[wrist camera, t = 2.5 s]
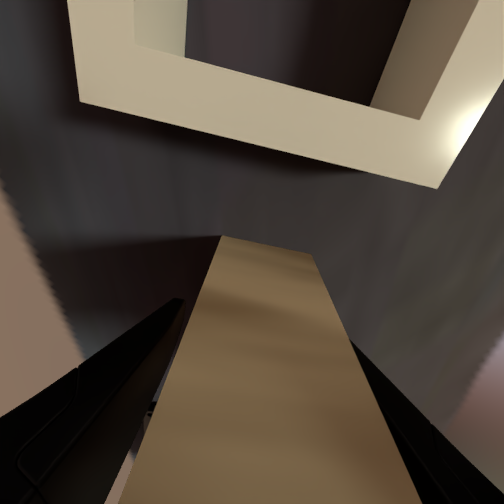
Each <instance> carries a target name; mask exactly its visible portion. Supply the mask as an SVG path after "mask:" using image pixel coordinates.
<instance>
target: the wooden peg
mask: <svg viewBox="0 0 504 504" xmlns="http://www.w3.org/2000/svg"><path fill="white" fill-rule="evenodd" d="M118 504H422V502H421V500H420V498H419V496H418V493H417V491H416V489H415V487H414V484H413V482H412V480H411V478H410V475H409V473H408V471H407V469H406V466H405V464H404V462H403V460H402V457H401V455H400V453H399V451H398V448H397V446H396V444H395V442H394V439H393V437H392V435H391V433H390V430H389V428H388V426H387V424H386V422H385V419H384V417H383V415H382V413H381V410H380V408H379V406H378V404H377V401H376V399H375V397H374V395H373V392H372V390H371V388H370V386H369V383H368V381H367V379H366V377H365V374H364V372H363V370H362V368H361V365H360V363H359V361H358V359H357V356H356V354H355V352H354V350H353V347H352V345H351V343H350V341H349V339H348V336H347V334H346V332H345V330H344V327H343V325H342V323H341V321H340V318H339V316H338V314H337V312H336V309H335V307H334V305H333V303H332V300H331V298H330V296H329V294H328V291H327V289H326V287H325V285H324V282H323V280H322V278H321V276H320V273H319V271H318V269H317V267H316V265H315V262H314V260H313V258H312V256H311V254H307V253H303V252H298V251H293V250H288V249H284V248H279V247H274V246H269V245H265V244H260V243H255V242H250V241H246V240H241V239H236V238H231V237H227V236H221V239H220V242H219V244H218V247H217V249H216V252H215V255H214V257H213V260H212V262H211V265H210V267H209V270H208V273H207V275H206V278H205V280H204V283H203V286H202V288H201V291H200V293H199V296H198V298H197V301H196V304H195V306H194V309H193V311H192V314H191V317H190V319H189V322H188V324H187V327H186V329H185V332H184V335H183V337H182V340H181V342H180V345H179V348H178V350H177V353H176V355H175V358H174V360H173V363H172V366H171V368H170V371H169V373H168V376H167V379H166V381H165V384H164V386H163V389H162V391H161V394H160V397H159V399H158V402H157V404H156V407H155V409H154V412H153V415H152V417H151V420H150V422H149V425H148V428H147V430H146V433H145V435H144V438H143V441H142V443H141V446H140V448H139V451H138V453H137V456H136V459H135V461H134V464H133V466H132V469H131V471H130V474H129V477H128V479H127V482H126V484H125V487H124V490H123V492H122V495H121V497H120V500H119V503H118Z"/></svg>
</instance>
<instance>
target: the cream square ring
mask: <svg viewBox="0 0 504 504" xmlns="http://www.w3.org/2000/svg"><path fill="white" fill-rule="evenodd" d="M67 3H68V10H69V18H70V26H71V34H72V42H73V50H74V58H75V66H76V74H77V82H78V90H79V98H80V102H84V103H88V104H92V105H96V106H100V107H104V108H108V109H112V110H116V111H121V112H125V113H129V114H133V115H137V116H141V117H145V118H149V119H153V120H157V121H161V122H166V123H170V124H174V125H178V126H182V127H186V128H190V129H194V130H198V131H202V132H206V133H211V134H215V135H219V136H223V137H227V138H231V139H235V140H239V141H243V142H247V143H251V144H256V145H260V146H264V147H268V148H272V149H276V150H280V151H284V152H288V153H292V154H296V155H301V156H305V157H309V158H313V159H317V160H321V161H325V162H329V163H333V164H337V165H341V166H346V167H350V168H354V169H358V170H362V171H366V172H370V173H374V174H378V175H382V176H386V177H391V178H395V179H399V180H403V181H407V182H411V183H415V184H419V185H423V186H427V187H431V188H436V189H437V188H438V187H439V185H440V183H441V182H442V180H443V178H444V177H445V175H446V173H447V172H448V170H449V168H450V167H451V165H452V163H453V162H454V160H455V158H456V157H457V155H458V154H459V152H460V150H461V149H462V147H463V145H464V144H465V142H466V140H467V139H468V137H469V135H470V134H471V132H472V130H473V129H474V127H475V125H476V124H477V122H478V120H479V119H480V117H481V115H482V114H483V112H484V110H485V109H486V107H487V106H488V104H489V102H490V101H491V99H492V97H493V96H494V94H495V92H496V91H497V89H498V87H499V86H500V84H501V82H502V81H503V79H504V0H411V2H410V5H409V7H408V10H407V12H406V15H405V17H404V20H403V22H402V25H401V27H400V30H399V33H398V35H397V38H396V40H395V43H394V45H393V48H392V50H391V53H390V55H389V58H388V60H387V63H386V66H385V68H384V71H383V73H382V76H381V78H380V81H379V83H378V86H377V88H376V91H375V94H374V96H373V99H372V101H371V104H370V106H369V107H368V106H364V105H360V104H356V103H353V102H349V101H345V100H341V99H338V98H334V97H330V96H326V95H323V94H319V93H315V92H311V91H308V90H304V89H300V88H296V87H293V86H289V85H285V84H281V83H278V82H274V81H270V80H267V79H263V78H259V77H255V76H252V75H248V74H244V73H240V72H237V71H233V70H229V69H225V68H222V67H218V66H214V65H210V64H207V63H203V62H199V61H195V60H192V59H188V58H184V54H185V36H186V18H187V0H67Z"/></svg>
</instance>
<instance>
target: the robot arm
mask: <svg viewBox="0 0 504 504" xmlns="http://www.w3.org/2000/svg"><path fill="white" fill-rule="evenodd" d="M185 305H186V301H185V300H184V299H178V298H173V299H172V300H170V301H169V302H168V303H166V304H165V305H163V306H162V307H160V308H159V309H158V310H156V311H155V312H153V313H152V314H151V315H149V316H148V317H146V318H145V319H144V320H142V321H141V322H139V323H138V324H136V325H135V326H134V327H132V328H131V329H129V330H128V331H127V332H125V333H124V334H122V335H121V336H120V337H118V338H117V339H115V340H114V341H112V342H111V343H110V344H108V345H107V346H105V347H104V348H103V349H101V350H100V351H98V352H97V353H95V354H94V355H93V356H91V357H90V358H88V359H87V360H86V361H84V362H83V363H81V364H80V365H79V366H78V368H74V369H73V370H71V371H70V372H68V373H67V374H66V375H64V376H63V377H62V378H60V379H58V380H57V381H56V382H54V383H53V384H51V385H50V386H49V387H47V388H45V389H44V390H42V391H41V392H39V393H38V394H36V395H35V396H33V397H32V398H30V399H29V400H27V401H26V402H24V403H22V404H21V405H19V406H18V407H16V408H15V409H13V410H11V411H10V412H8V413H7V414H5V415H3V416H2V417H0V504H104V503H105V501H106V499H107V496H108V494H109V492H110V490H111V488H112V486H113V484H114V481H115V479H116V477H117V475H118V473H119V471H120V469H121V466H122V464H123V462H124V460H125V458H126V456H127V453H128V451H129V449H130V447H131V445H132V443H133V440H134V438H135V436H136V434H137V432H138V430H139V428H140V425H141V423H142V421H143V419H144V435H145V433H146V430H147V428H148V425H149V422H150V420H151V417H152V415H153V412H154V409H155V407H156V405H150V404H151V402H152V400H153V397H154V395H155V393H156V391H157V389H158V387H159V384H160V382H161V380H162V378H163V376H164V374H165V371H166V369H167V367H168V365H169V362H170V359H171V357H172V354H173V351H174V348H175V345H176V342H177V339H178V336H179V333H180V330H181V327H182V324H183V321H184V315H185ZM348 339H349V338H348ZM349 341H350V343H351V345H352V347H353V350H354V352H355V354H356V356H357V359H358V361H359V363H360V365H361V368H362V370H363V372H364V374H365V377H366V379H367V381H368V383H369V386H370V388H371V390H372V392H373V395H374V397H375V399H376V401H377V404H378V406H379V408H380V410H381V413H382V415H383V417H384V419H385V422H386V424H387V426H388V428H389V430H390V433H391V435H392V437H393V439H394V442H395V444H396V446H397V448H398V451H399V453H400V455H401V457H402V460H403V462H404V464H405V466H406V469H407V471H408V473H409V475H410V478H411V480H412V482H413V484H414V487H415V489H416V491H417V493H418V496H419V498H420V500H421V502H422V504H504V494H503V493H502V492H501V491H500V490H499V489H498V488H497V487H496V486H494V484H493V483H492V482H491V481H489V480H488V479H487V478H486V477H485V476H484V475H483V474H482V473H481V472H480V471H479V470H478V469H477V468H476V467H475V466H474V465H472V463H471V462H470V461H469V460H467V459H466V457H465V456H463V454H461V453H460V452H459V450H458V449H456V447H455V446H454V445H452V444H451V443H450V441H448V439H447V438H445V436H444V435H443V434H442V433H441V432H440V431H439V430H438V429H437V428H436V427H435V426H434V425H433V424H431V423H430V421H429V420H428V419H427V418H426V417H425V416H424V415H423V414H422V413H421V412H420V411H419V410H418V409H417V408H416V407H415V406H414V405H413V404H412V403H411V402H410V401H409V400H408V399H407V398H406V397H405V396H404V395H403V393H402V392H401V391H400V390H399V389H398V388H397V387H396V386H395V385H394V384H393V383H392V382H391V381H390V380H389V379H388V378H387V377H386V376H385V375H384V374H383V373H382V372H381V371H380V370H379V369H378V368H377V367H376V366H375V365H374V364H373V363H372V362H371V361H370V360H369V359H368V358H367V357H366V356H365V355H364V354H363V353H362V351H361V350H360V349H359V348H358V347H357V346H356V345H355V344H354V343H353V342H352V341H351V340H350V339H349Z"/></svg>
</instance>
